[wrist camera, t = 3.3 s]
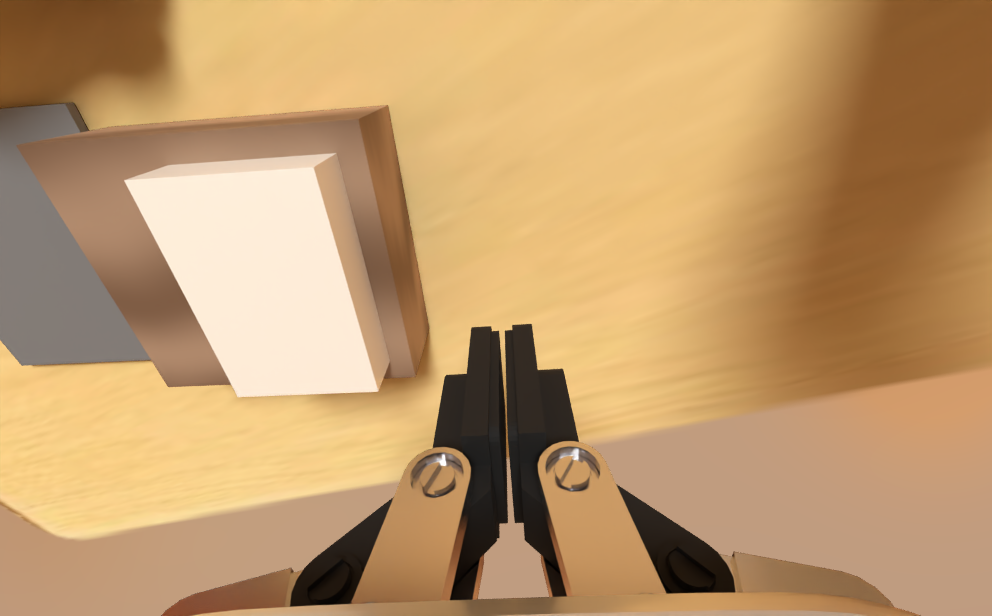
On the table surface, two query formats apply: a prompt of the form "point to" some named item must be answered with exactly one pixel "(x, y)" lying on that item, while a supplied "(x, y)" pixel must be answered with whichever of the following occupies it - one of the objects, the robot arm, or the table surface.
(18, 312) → the mat
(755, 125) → the table surface
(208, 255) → the tile
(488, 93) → the table surface
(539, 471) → the robot arm
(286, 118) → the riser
